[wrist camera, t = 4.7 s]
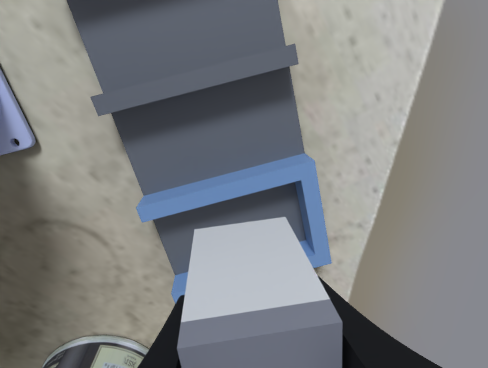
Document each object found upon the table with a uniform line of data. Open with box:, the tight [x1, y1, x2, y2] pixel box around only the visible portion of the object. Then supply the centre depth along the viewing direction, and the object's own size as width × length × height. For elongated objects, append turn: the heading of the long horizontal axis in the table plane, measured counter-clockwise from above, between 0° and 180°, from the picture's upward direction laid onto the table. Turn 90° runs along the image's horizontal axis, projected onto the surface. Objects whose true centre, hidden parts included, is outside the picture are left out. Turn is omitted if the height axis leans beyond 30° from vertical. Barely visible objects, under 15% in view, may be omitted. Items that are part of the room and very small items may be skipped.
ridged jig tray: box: [67, 0, 331, 304], centre depth 17 cm, size 11×21×3 cm, turn 14°
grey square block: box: [177, 217, 342, 368], centre depth 10 cm, size 4×4×6 cm
